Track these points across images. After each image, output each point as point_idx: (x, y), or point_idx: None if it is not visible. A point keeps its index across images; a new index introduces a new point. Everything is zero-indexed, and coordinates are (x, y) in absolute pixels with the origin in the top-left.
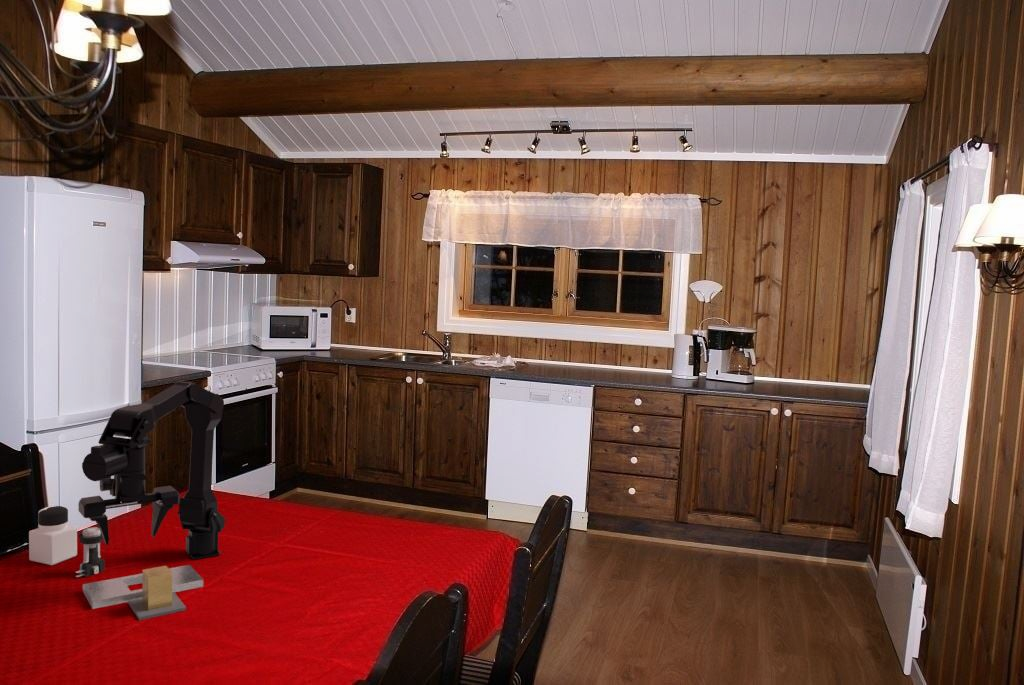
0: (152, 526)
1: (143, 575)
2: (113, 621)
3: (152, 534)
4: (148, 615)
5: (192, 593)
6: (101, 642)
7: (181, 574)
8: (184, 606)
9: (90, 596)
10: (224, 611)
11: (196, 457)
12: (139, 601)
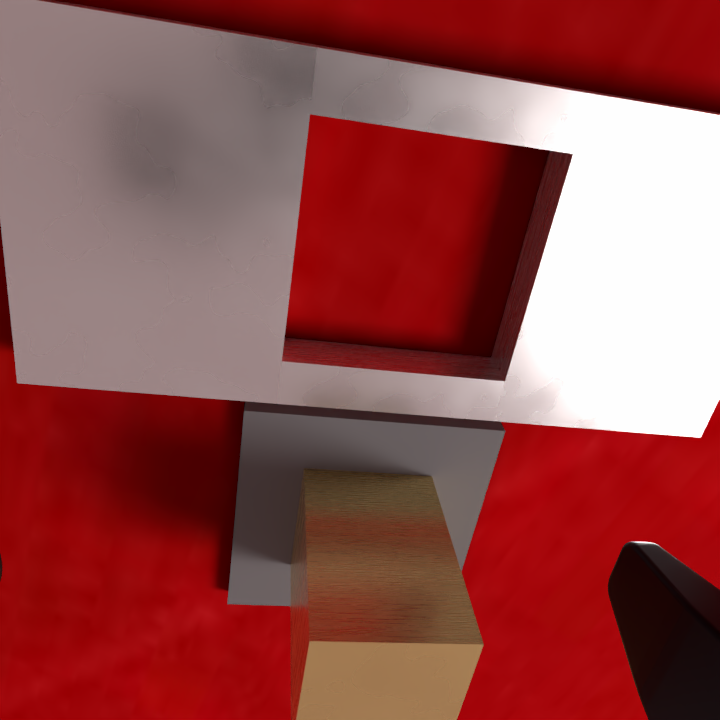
0: (703, 682)
1: (305, 630)
2: (116, 547)
3: (627, 590)
4: (271, 604)
5: (579, 457)
6: (27, 683)
7: (674, 287)
8: None
9: (13, 295)
10: (555, 669)
11: None
12: (295, 449)
